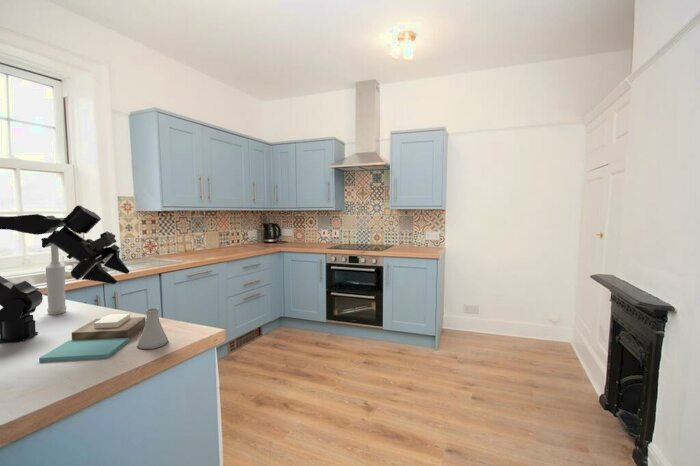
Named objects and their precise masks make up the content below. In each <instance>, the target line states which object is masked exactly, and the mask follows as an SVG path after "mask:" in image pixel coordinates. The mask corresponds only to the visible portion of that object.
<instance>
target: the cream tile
mask: <svg viewBox="0 0 700 466" xmlns="http://www.w3.org/2000/svg"><path fill="white" fill-rule="evenodd" d="M130 318H131V313H119V314H118V313H115V314H107V315H106V316H104V317H102V318H99V319H100V320H98V321H97V322H95V323H94V328H111V327H118V326H120V325H121V324H123V323H124V322H126V321H127V320H129V319H130Z"/></svg>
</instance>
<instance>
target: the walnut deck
mask: <svg viewBox="0 0 700 466" xmlns="http://www.w3.org/2000/svg"><path fill="white" fill-rule="evenodd" d="M100 319H101V318H95V319H93V320H91V321H90V322H88V323H86V324H84V325H82V326H80V327H79V328H77V329H76V330H74V331H72V332H71V340H91V339H112V338H129V340H131V339H132V338H133V337H134V336H136V335H137V334H138V333H139V332H140V331H141V330H142V331H143V329H144V326H145V323H146V316H140V317H139V316H137V317H135V316H134V317H131V316H130V319H129V320H127V321H126V322H124V323H123V324H121V325H120V326H118V327H111V328H94V323H95V322H97V321H98V320H100Z"/></svg>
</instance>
